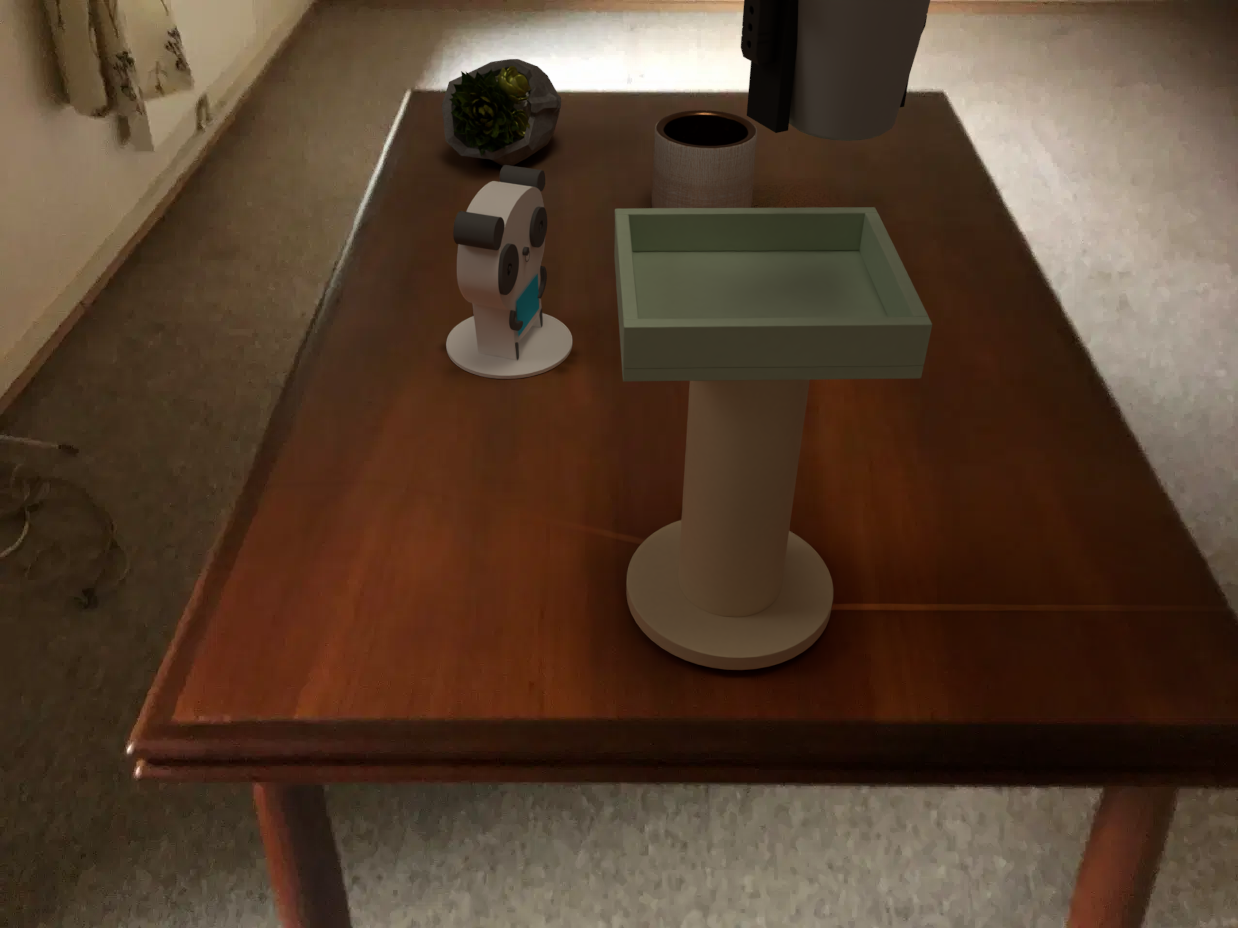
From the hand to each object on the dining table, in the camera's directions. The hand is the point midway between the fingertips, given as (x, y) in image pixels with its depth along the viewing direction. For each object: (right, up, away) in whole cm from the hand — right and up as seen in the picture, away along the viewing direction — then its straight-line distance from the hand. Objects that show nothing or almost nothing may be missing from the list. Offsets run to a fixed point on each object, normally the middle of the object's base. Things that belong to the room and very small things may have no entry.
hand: (826, 110), depth 60 cm
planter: (-2, +9, +65) cm, 65 cm away
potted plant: (-25, +17, +75) cm, 81 cm away
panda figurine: (-21, -8, +43) cm, 48 cm away
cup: (+1, 0, 0) cm, 1 cm away
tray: (-4, -28, +18) cm, 33 cm away
